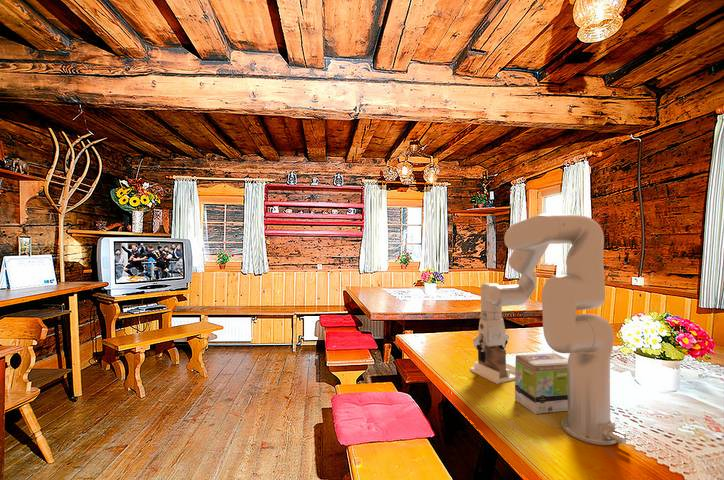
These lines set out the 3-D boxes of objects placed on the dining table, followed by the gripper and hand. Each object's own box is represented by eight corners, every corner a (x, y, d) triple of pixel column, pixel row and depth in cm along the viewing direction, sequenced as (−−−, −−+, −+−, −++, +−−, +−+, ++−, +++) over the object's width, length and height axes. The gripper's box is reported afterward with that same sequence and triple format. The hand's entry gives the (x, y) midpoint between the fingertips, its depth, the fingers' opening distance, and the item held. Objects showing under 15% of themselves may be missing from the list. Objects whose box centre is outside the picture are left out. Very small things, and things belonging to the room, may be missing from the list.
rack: (524, 377, 125) (524, 368, 125) (496, 383, 120) (496, 374, 120) (496, 365, 138) (496, 356, 138) (470, 370, 133) (470, 361, 133)
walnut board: (505, 377, 123) (505, 350, 123) (499, 378, 122) (499, 351, 122) (484, 367, 133) (484, 342, 134) (478, 368, 132) (478, 343, 132)
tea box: (536, 415, 98) (535, 365, 98) (514, 400, 107) (513, 354, 108) (579, 410, 101) (579, 362, 101) (554, 395, 110) (553, 351, 111)
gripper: (481, 319, 121) (481, 366, 121) (515, 315, 128) (515, 359, 128) (466, 315, 128) (467, 359, 128) (500, 311, 135) (500, 353, 135)
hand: (491, 359), depth 128 cm, fingers open, 9 cm apart
